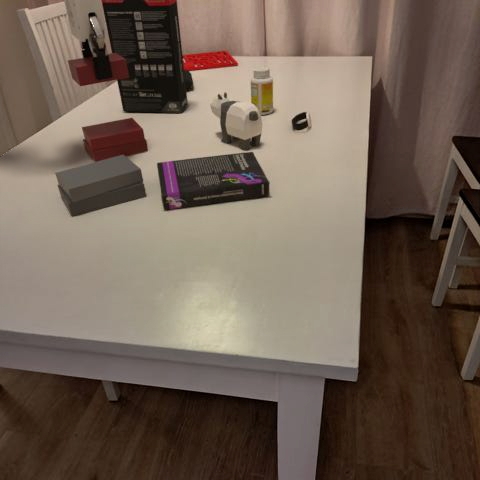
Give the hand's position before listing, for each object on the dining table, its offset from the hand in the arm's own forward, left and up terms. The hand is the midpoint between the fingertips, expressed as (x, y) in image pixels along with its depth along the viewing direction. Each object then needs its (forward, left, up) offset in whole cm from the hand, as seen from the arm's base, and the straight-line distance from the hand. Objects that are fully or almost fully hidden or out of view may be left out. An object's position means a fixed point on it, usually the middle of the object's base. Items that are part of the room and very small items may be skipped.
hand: (99, 73), depth 94 cm
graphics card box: (+18, +22, -16) cm, 33 cm away
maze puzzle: (+51, +62, -16) cm, 82 cm away
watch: (+42, -12, -16) cm, 47 cm away
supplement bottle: (+40, +3, -16) cm, 43 cm away
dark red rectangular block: (0, 0, -1) cm, 1 cm away
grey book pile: (-9, -21, -16) cm, 28 cm away
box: (+10, -29, -16) cm, 35 cm away
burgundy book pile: (0, 0, -16) cm, 16 cm away
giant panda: (+25, -11, -16) cm, 32 cm away
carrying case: (+31, +40, -16) cm, 53 cm away
